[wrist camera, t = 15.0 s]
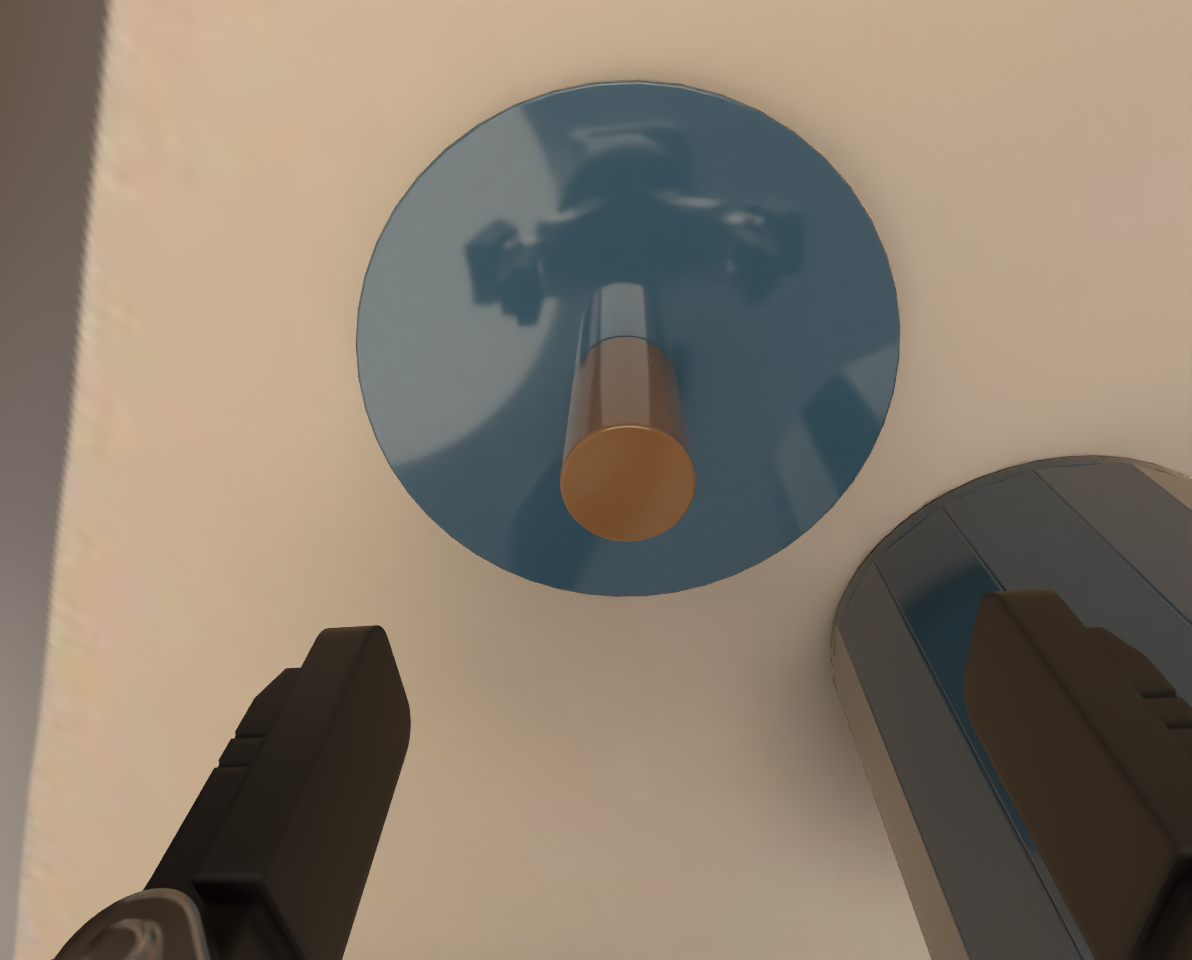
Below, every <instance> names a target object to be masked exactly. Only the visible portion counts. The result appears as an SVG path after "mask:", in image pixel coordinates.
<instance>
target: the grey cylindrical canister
mask: <svg viewBox="0 0 1192 960" xmlns="http://www.w3.org/2000/svg"><path fill="white" fill-rule="evenodd" d="M1031 589H1050V590H1053V591H1054V592H1056V593H1057V594H1058V595H1059V596H1060V597H1061V598H1062V599H1063V600H1064V602H1065V603H1066V604H1067V605H1068V607H1069V608H1070V609H1071V610H1072V611H1073V613H1074V614H1075V615H1076V616H1077V618H1078V619H1079V620H1080V621H1081V622H1082V624H1083V625H1084V626H1085V627H1086V628H1088V627H1103V628H1105V629H1106V630H1108V631H1109V632H1111V633H1112V634H1114V635H1115V636H1117V637H1118V638H1120V639H1121V640H1123V641H1124V642H1126V643H1127V644H1129V645H1130V646H1132V647H1133V648H1135V649H1136V650H1138V651H1140V652H1141V653H1143V654H1144V655H1146V657H1147V658H1148V659H1149V660H1150V661H1151V662H1152V663H1153V665H1154V666H1155V667H1156V668H1157V669H1158V670H1159V671H1160V673H1161V674H1162V675H1163V676H1164V677H1165V678H1166V679H1167V680H1168V682H1169V683H1170V684H1171V685H1172V686H1173V687H1174V688H1175V690H1176V695H1177V697H1178V698H1179V697H1183V699H1184V700H1185V701H1186V702H1187V703H1188V704H1189V705H1190V707H1191V708H1192V480H1190V479H1188V478H1187V477H1185V476H1183V475H1181V474H1180V473H1177V472H1174V471H1172V470H1169V469H1166V468H1164V467H1161V466H1158V465H1156V464H1151V463H1146V462H1142V461H1137V460H1133V459H1128V458H1117V457H1105V456H1079V457H1064V458H1056V459H1049V460H1042V461H1036V462H1032V463H1028V464H1024V465H1020V466H1015V467H1011V468H1007V469H1005V470H1002V471H999V472H996V473H993V474H990V475H987V476H984V477H982V478H979V479H976V480H974V481H972V482H970V483H968V484H966V485H963V486H961V487H959V488H957V489H955V490H953V491H951V492H949V493H947V494H945V495H944V496H942V497H940V498H939V499H937V500H935V501H933V502H932V503H930V504H928V505H927V506H925V507H923V508H922V509H921V510H919V511H918V512H917V513H915V514H914V515H912V516H911V517H910V518H908V519H907V520H906V521H904V522H903V523H902V524H900V525H899V526H898V527H897V528H896V529H895V530H894V531H893V532H892V533H890V534H889V535H888V536H887V537H886V538H885V539H884V540H883V541H882V542H881V543H880V544H879V545H878V546H877V547H876V548H875V550H874V551H873V552H872V553H871V554H870V555H869V556H868V558H867V559H866V560H865V561H864V562H863V564H862V565H861V567H860V568H859V570H858V571H857V573H856V574H855V575H854V577H853V578H852V580H851V581H850V583H849V585H848V587H847V589H846V591H845V593H844V595H843V597H842V599H841V602H840V604H839V608H838V611H837V614H836V617H835V620H834V624H833V631H832V638H831V661H832V666H833V670H834V675H833V680H834V684H835V687H836V690H837V693H838V696H839V699H840V701H841V704H842V707H843V710H844V713H845V716H846V718H847V721H848V724H849V727H850V730H851V733H852V735H853V738H854V741H855V744H856V747H857V750H858V752H859V755H860V758H861V761H862V764H863V767H864V769H865V772H866V775H867V778H868V781H869V784H870V786H871V789H872V792H873V795H874V798H875V801H876V803H877V806H878V809H879V812H880V815H881V818H882V820H883V823H884V826H885V829H886V832H887V835H888V837H889V840H890V843H891V846H892V849H893V852H894V854H895V857H896V860H897V863H898V866H899V869H900V871H901V874H902V877H903V880H904V883H905V886H906V888H907V891H908V894H909V897H910V900H911V903H912V905H913V908H914V911H915V914H916V917H917V920H918V922H919V925H920V928H921V931H922V934H923V937H924V940H925V942H926V945H927V948H928V951H929V954H930V957H931V959H932V960H1095V959H1094V957H1093V955H1092V953H1091V951H1090V949H1089V947H1088V945H1087V943H1086V941H1085V940H1084V938H1083V936H1082V934H1081V932H1080V930H1079V928H1078V926H1077V924H1076V922H1075V921H1074V919H1073V917H1072V915H1071V913H1070V911H1069V909H1068V907H1067V905H1066V903H1065V902H1064V900H1063V898H1062V896H1061V894H1060V892H1059V890H1058V888H1057V886H1056V884H1055V883H1054V881H1053V879H1052V877H1051V875H1050V873H1049V871H1048V869H1047V867H1046V865H1045V864H1044V862H1043V860H1042V858H1041V856H1040V854H1039V852H1038V850H1037V848H1036V847H1035V845H1034V843H1033V841H1032V839H1031V837H1030V835H1029V833H1028V831H1027V829H1026V828H1025V826H1024V824H1023V822H1022V820H1021V818H1020V816H1019V814H1018V812H1017V810H1016V809H1015V807H1014V805H1013V803H1012V801H1011V799H1010V797H1009V795H1008V793H1007V791H1006V790H1005V788H1004V786H1003V784H1002V782H1001V780H1000V778H999V776H998V774H997V772H996V771H995V769H994V767H993V765H992V763H991V761H990V759H989V757H988V755H987V753H986V752H985V750H984V748H983V746H982V744H981V742H980V740H979V738H978V736H977V734H976V733H975V731H974V729H973V727H972V725H971V722H970V720H969V717H968V714H967V710H966V706H965V701H964V694H963V677H964V672H965V667H966V662H967V657H968V652H969V647H970V642H971V637H972V633H973V628H974V623H975V618H976V613H977V608H978V604H979V601H980V599H981V597H982V596H983V594H985V593H987V592H996V591H1013V590H1031Z"/></svg>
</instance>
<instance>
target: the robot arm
mask: <svg viewBox="0 0 1192 960" xmlns="http://www.w3.org/2000/svg"><path fill="white" fill-rule="evenodd" d="M963 694H964V701H965V706H966V710H967V714H968V717H969V720H970V722H971V725H972V727H973V729H974V731H975V733H976V734H977V736H978V738H979V740H980V742H981V744H982V746H983V748H984V750H985V752H986V753H987V755H988V757H989V759H990V761H991V763H992V765H993V767H994V769H995V771H996V772H997V774H998V776H999V778H1000V780H1001V782H1002V784H1003V786H1004V788H1005V790H1006V791H1007V793H1008V795H1009V797H1010V799H1011V801H1012V803H1013V805H1014V807H1015V809H1016V810H1017V812H1018V814H1019V816H1020V818H1021V820H1022V822H1023V824H1024V826H1025V828H1026V829H1027V831H1028V833H1029V835H1030V837H1031V839H1032V841H1033V843H1034V845H1035V847H1036V848H1037V850H1038V852H1039V854H1040V856H1041V858H1042V860H1043V862H1044V864H1045V865H1046V867H1047V869H1048V871H1049V873H1050V875H1051V877H1052V879H1053V881H1054V883H1055V884H1056V886H1057V888H1058V890H1059V892H1060V894H1061V896H1062V898H1063V900H1064V902H1065V903H1066V905H1067V907H1068V909H1069V911H1070V913H1071V915H1072V917H1073V919H1074V921H1075V922H1076V924H1077V926H1078V928H1079V930H1080V932H1081V934H1082V936H1083V938H1084V940H1085V941H1086V943H1087V945H1088V947H1089V949H1090V951H1091V953H1092V955H1093V957H1094V959H1095V960H1192V708H1191V707H1190V705H1189V704H1188V703H1187V702H1186V701H1185V700H1184V699H1183V697H1179V698H1178V697H1177V695H1176V690H1175V688H1174V687H1173V686H1172V685H1171V684H1170V683H1169V682H1168V680H1167V679H1166V678H1165V677H1164V676H1163V675H1162V674H1161V673H1160V671H1159V670H1158V669H1157V668H1156V667H1155V666H1154V665H1153V663H1152V662H1151V661H1150V660H1149V659H1148V658H1147V657H1146V655H1144V654H1143V653H1141V652H1140V651H1138V650H1136V649H1135V648H1133V647H1132V646H1130V645H1129V644H1127V643H1126V642H1124V641H1123V640H1121V639H1120V638H1118V637H1117V636H1115V635H1114V634H1112V633H1111V632H1109V631H1108V630H1106V629H1105V628H1103V627H1088V628H1086V627H1085V626H1084V625H1083V624H1082V622H1081V621H1080V620H1079V619H1078V618H1077V616H1076V615H1075V614H1074V613H1073V611H1072V610H1071V609H1070V608H1069V607H1068V605H1067V604H1066V603H1065V602H1064V600H1063V599H1062V598H1061V597H1060V596H1059V595H1058V594H1057V593H1056V592H1054V591H1053V590H1050V589H1031V590H1013V591H996V592H987V593H985V594H983V596H982V597H981V599H980V601H979V604H978V608H977V613H976V618H975V623H974V628H973V633H972V637H971V642H970V647H969V652H968V657H967V662H966V667H965V672H964V677H963ZM410 728H411V719H410V708H409V703H408V700H407V696H406V693H405V690H404V687H403V684H402V681H401V678H400V675H399V671H398V668H397V665H396V662H395V659H394V656H393V653H392V649H391V646H390V643H389V640H388V637H387V635H386V632H385V631H384V629H383V628H382V627H381V626H377V625H376V626H359V627H342V628H327V629H324V630H323V631H321V633H320V634H319V635H318V637H317V638H316V640H315V642H314V644H313V646H312V648H311V650H310V652H309V653H308V655H307V657H306V659H305V661H304V663H303V665H302V667H301V668H287V669H285V670H284V671H283V672H282V673H281V674H280V675H279V676H277V677H276V678H275V679H274V680H273V681H272V682H271V683H270V684H269V685H268V686H267V687H266V688H265V689H264V690H263V691H262V692H261V693H260V694H258V695H257V696H256V697H255V698H254V700H253V702H252V704H251V705H250V707H249V709H248V711H247V712H246V714H245V716H244V717H243V719H242V721H241V723H240V724H239V726H238V728H237V730H236V731H235V733H236V736H235V738H234V739H231V740H230V742H229V743H228V745H227V747H226V749H225V750H224V752H223V754H222V756H221V757H220V759H219V766H218V768H214V770H213V771H212V773H211V775H210V776H209V778H208V780H207V782H206V783H205V785H204V787H203V789H202V790H201V792H200V794H199V796H198V797H197V799H196V801H195V802H194V804H193V806H192V808H191V809H190V811H189V813H188V815H187V816H186V818H185V820H184V822H183V823H182V825H181V827H180V828H179V830H178V832H177V834H176V835H175V837H174V839H173V841H172V842H171V844H170V846H169V848H168V849H167V851H166V853H165V855H164V856H163V858H162V860H161V861H160V863H159V865H158V867H157V868H156V870H155V872H154V874H153V875H152V877H151V879H150V880H149V882H148V883H147V885H146V886H145V888H144V889H143V891H141V892H138V893H135V894H132V895H130V896H127V897H125V898H123V899H121V900H119V901H117V902H115V903H113V904H112V905H110V906H109V907H107V908H105V909H104V910H102V911H101V912H99V913H98V914H97V915H95V916H94V917H93V918H91V919H90V920H89V921H88V922H87V923H85V924H84V925H83V926H82V927H81V928H80V929H79V930H78V931H77V932H76V933H75V934H74V935H73V936H72V937H71V938H70V939H69V940H68V941H67V943H66V944H65V945H64V946H63V947H62V949H61V950H60V951H59V953H58V954H57V955H56V957H55V958H54V959H52V960H342V958H343V954H344V951H345V948H346V945H347V942H348V938H349V935H350V932H351V929H352V926H353V922H354V919H355V916H356V913H357V909H358V906H359V903H360V900H361V897H362V893H363V890H364V887H365V884H366V881H367V877H368V874H369V871H370V868H371V865H372V861H373V858H374V855H375V852H376V849H377V845H378V842H379V839H380V836H381V832H382V829H383V826H384V823H385V820H386V816H387V813H388V810H389V807H390V804H391V800H392V797H393V794H394V791H395V788H396V784H397V781H398V778H399V775H400V772H401V768H402V765H403V762H404V759H405V755H406V752H407V749H408V744H409V739H410Z"/></svg>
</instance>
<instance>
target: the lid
mask: <svg viewBox="0 0 1192 960" xmlns="http://www.w3.org/2000/svg"><path fill="white" fill-rule="evenodd" d="M899 345H900V320H899V311H898V302H897V294H896V288H895V284H894V280H893V276H892V273H891V269H890V265H889V261H888V258H887V254H886V252H885V250H884V247H883V245H882V243H881V240H880V238H879V236H878V233H877V231H876V229H875V227H874V224H873V222H872V220H871V218H870V217H869V215H868V214H867V212H866V210H865V209H864V207H863V206H862V204H861V202H860V201H859V199H858V198H857V196H856V194H855V193H854V191H853V190H852V188H851V187H850V186H849V185H848V183H847V182H846V181H845V180H844V179H843V178H842V177H841V175H840V174H839V173H838V172H837V171H836V170H835V168H834V167H833V166H832V165H831V164H830V163H829V162H828V160H827V159H826V158H825V157H824V156H822V155H821V154H820V153H819V152H818V151H817V150H815V149H814V148H813V147H812V146H811V145H809V144H808V143H807V142H806V141H805V140H804V139H802V138H801V137H800V136H799V135H798V134H796V133H795V132H794V131H792V130H791V129H789V128H787V127H786V126H784V125H782V124H781V123H779V122H778V121H776V120H774V119H773V118H771V117H769V116H768V115H766V114H764V113H763V112H761V111H759V110H757V109H755V108H752V107H750V106H748V105H745V104H743V103H740V102H738V101H736V100H733V99H731V98H729V97H726V96H724V95H721V94H718V93H714V92H710V91H706V90H702V89H698V88H694V87H690V86H686V85H682V84H678V83H668V82H657V81H647V80H618V81H599V82H592V83H587V84H582V85H577V86H572V87H567V88H562V89H557V90H553V91H551V92H548V93H545V94H542V95H540V96H537V97H534V98H531V99H529V100H526V101H523V102H520V103H518V104H515V105H513V106H511V107H509V108H507V109H505V110H504V111H502V112H500V113H498V114H496V115H494V116H493V117H491V118H489V119H487V120H485V121H483V122H481V123H480V124H478V125H476V126H475V127H474V128H472V129H471V130H470V131H468V132H467V133H466V134H464V135H463V136H462V137H460V138H459V139H458V140H456V141H455V142H454V143H452V144H451V145H450V146H448V147H447V148H446V149H445V150H444V151H443V152H442V153H441V154H440V155H439V156H438V157H437V158H436V159H435V160H434V161H433V162H432V163H431V164H430V165H429V166H428V167H427V168H426V169H425V170H424V171H423V172H422V173H421V174H420V175H419V176H418V177H417V178H416V179H415V181H414V182H413V184H412V185H411V186H410V188H409V189H408V190H407V192H406V193H405V194H404V196H403V197H402V199H401V200H400V201H399V203H398V204H397V205H396V207H395V208H394V210H393V212H392V214H391V216H390V217H389V219H388V221H387V223H386V225H385V227H384V229H383V231H382V233H381V234H380V236H379V238H378V240H377V242H376V245H375V248H374V251H373V254H372V257H371V259H370V262H369V265H368V268H367V271H366V273H365V277H364V282H363V287H362V292H361V297H360V302H359V307H358V316H357V333H356V352H357V364H358V377H359V382H360V386H361V391H362V395H363V400H364V405H365V409H366V412H367V415H368V418H369V420H370V423H371V426H372V429H373V431H374V434H375V437H376V440H377V442H378V444H379V446H380V448H381V450H382V451H383V453H384V455H385V457H386V459H387V461H388V463H389V465H390V467H391V469H392V470H393V472H394V473H395V475H396V476H397V478H398V479H399V480H400V482H401V483H402V485H403V486H404V488H405V489H406V491H407V492H408V494H409V495H410V496H411V497H412V498H413V499H414V500H415V502H416V503H417V504H418V505H419V506H420V507H421V508H422V510H423V511H424V512H425V513H426V514H427V515H428V516H429V517H430V518H431V519H432V520H433V521H434V522H435V523H436V524H438V525H439V526H440V527H441V528H442V529H443V530H444V531H445V532H446V533H448V534H449V535H450V536H451V537H452V538H454V539H455V540H456V541H458V542H459V543H461V544H462V545H463V546H465V547H466V548H468V549H469V550H470V551H472V552H473V553H475V554H476V555H478V556H480V557H482V558H483V559H485V560H487V561H489V562H491V563H492V564H494V565H496V566H498V567H500V568H501V569H504V570H506V571H508V572H511V573H513V574H515V575H518V576H520V577H523V578H525V579H527V580H530V581H533V582H537V583H540V584H543V585H547V586H550V587H553V588H557V589H561V590H567V591H572V592H577V593H583V594H589V595H601V596H614V597H626V596H650V595H658V594H666V593H674V592H679V591H683V590H688V589H692V588H696V587H701V586H705V585H708V584H711V583H713V582H716V581H719V580H722V579H725V578H728V577H731V576H733V575H736V574H738V573H740V572H742V571H744V570H746V569H748V568H750V567H753V566H755V565H757V564H759V563H761V562H762V561H764V560H766V559H767V558H769V557H771V556H772V555H774V554H776V553H777V552H779V551H781V550H782V549H784V548H785V547H787V546H788V545H789V544H791V543H792V542H793V541H795V540H796V539H797V538H799V537H800V536H801V535H802V534H804V533H805V532H806V531H808V530H809V529H810V528H811V527H812V526H813V525H814V524H815V523H816V522H817V521H818V520H819V519H820V518H822V517H823V516H824V515H825V514H826V513H827V512H828V511H829V510H830V509H831V508H832V507H833V506H834V504H835V503H836V502H837V501H838V499H839V498H840V497H841V496H842V495H843V493H844V492H845V491H846V490H847V488H848V487H849V486H850V485H851V483H852V482H853V481H854V479H855V477H856V476H857V474H858V473H859V471H860V469H861V468H862V466H863V465H864V463H865V461H866V460H867V458H868V457H869V455H870V453H871V451H872V449H873V447H874V444H875V442H876V440H877V438H878V436H879V434H880V431H881V429H882V427H883V425H884V422H885V418H886V415H887V412H888V409H889V406H890V402H891V399H892V396H893V393H894V387H895V381H896V375H897V369H898V363H899Z"/></svg>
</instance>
